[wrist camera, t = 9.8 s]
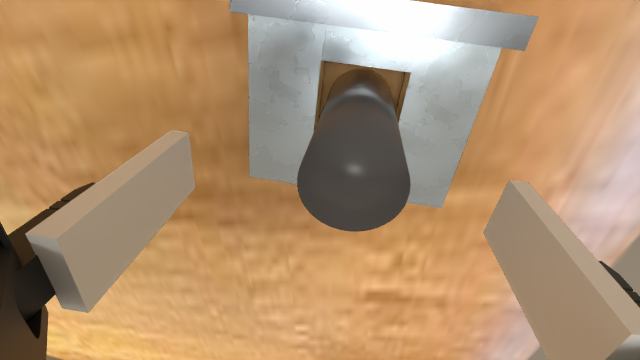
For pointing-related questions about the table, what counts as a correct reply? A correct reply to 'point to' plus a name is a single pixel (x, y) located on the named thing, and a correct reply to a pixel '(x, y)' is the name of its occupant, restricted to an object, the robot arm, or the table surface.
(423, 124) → the plate
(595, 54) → the table surface
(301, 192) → the dark grey round peg
